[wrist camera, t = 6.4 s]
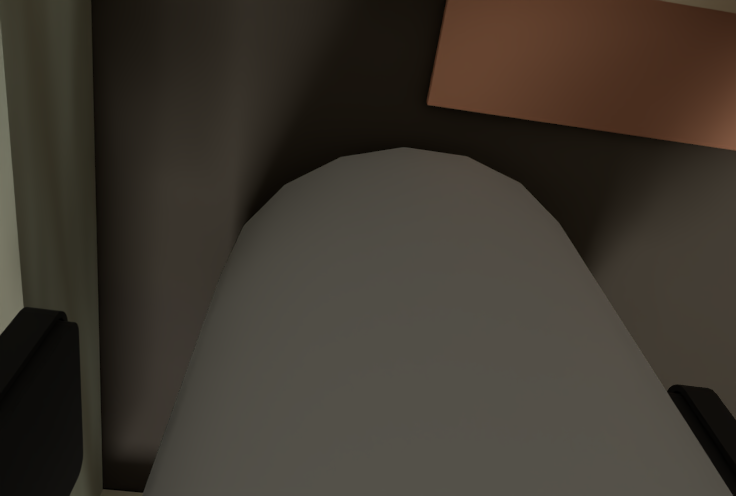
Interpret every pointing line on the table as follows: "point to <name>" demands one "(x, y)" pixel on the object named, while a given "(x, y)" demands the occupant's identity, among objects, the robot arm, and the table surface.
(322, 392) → the can
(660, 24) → the tan bent flat bar
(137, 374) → the table surface
